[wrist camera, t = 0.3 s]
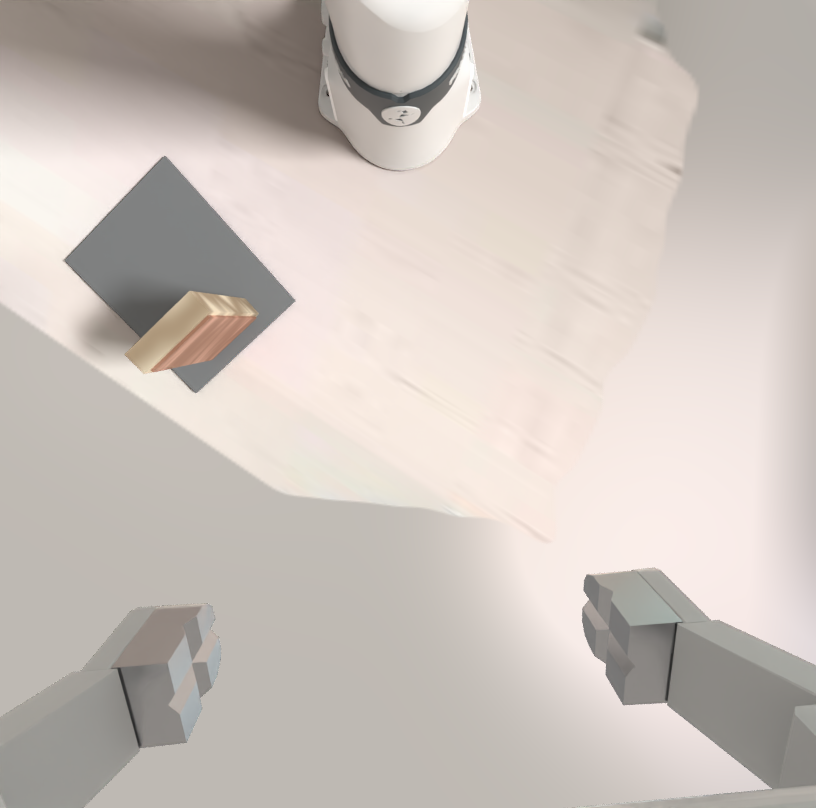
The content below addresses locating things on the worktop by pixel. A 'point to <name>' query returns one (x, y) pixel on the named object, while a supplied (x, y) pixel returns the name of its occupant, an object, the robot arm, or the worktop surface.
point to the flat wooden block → (192, 332)
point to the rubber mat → (174, 263)
